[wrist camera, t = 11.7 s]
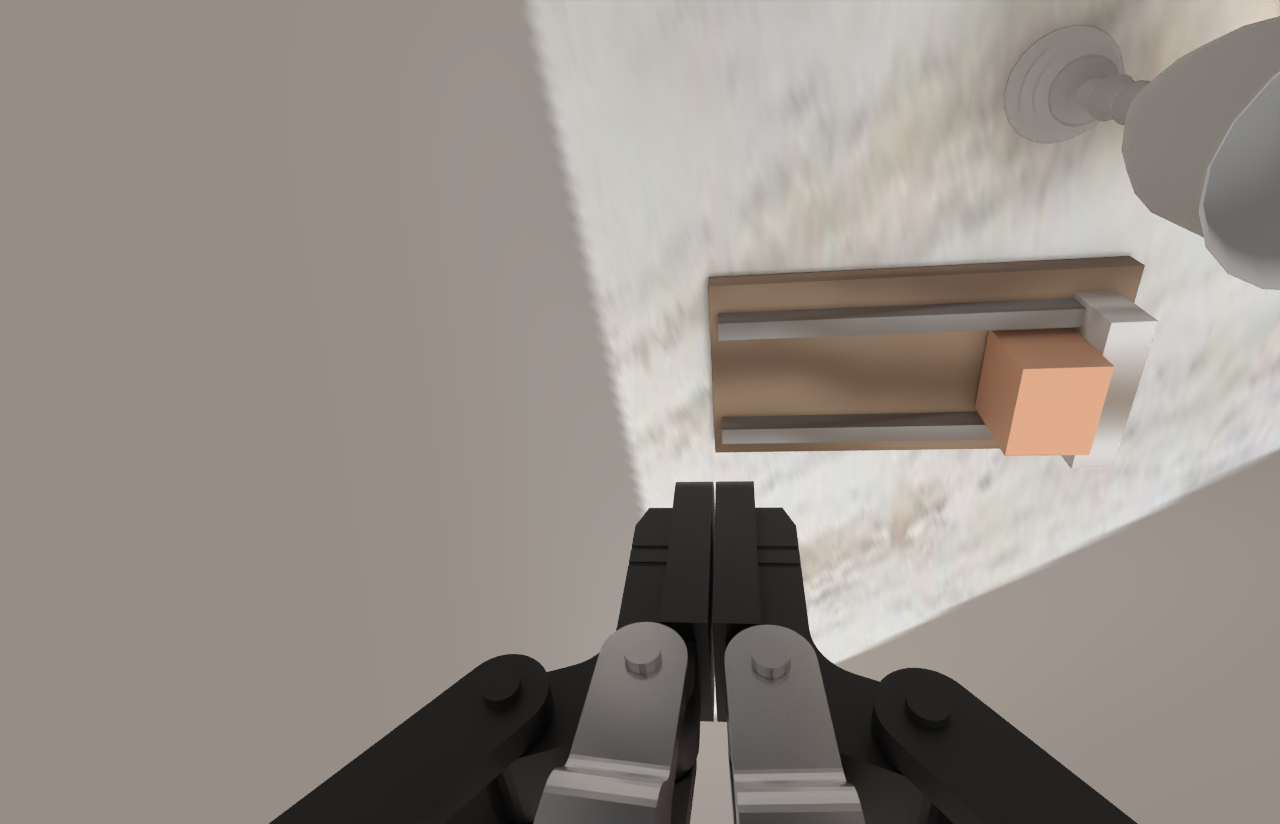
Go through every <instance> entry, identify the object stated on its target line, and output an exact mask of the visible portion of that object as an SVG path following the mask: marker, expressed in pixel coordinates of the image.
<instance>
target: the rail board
mask: <svg viewBox="0 0 1280 824" xmlns="http://www.w3.org/2000/svg"><path fill="white" fill-rule="evenodd" d="M1144 266H1145V265H1143V264H1142V263H1140V262H1138V261H1137V260H1135V259H1133V258H1132V257H1130V256H1124V257H1104V258H1085V259H1065V260H1045V261H1025V262H1006V263H986V264H966V265H947V266H927V267H907V268H887V269H868V270H848V271H828V272H809V273H789V274H769V275H749V276H730V277H710V278H709V285H708V289H709V312H710V335H711V358H712V381H713V404H714V427H715V450H716V452H773V451H846V450H919V449H992V448H1000V447H999V446H998V444H997V442H996V441H995V439H994V438H993V436H992V434H991V433H990V431H989V429H988V428H987V426H986V425H985V423H984V421H983V420H982V418H981V416H980V415H979V413H978V412H977V410H976V408H975V404H976V398H977V393H978V387H979V381H980V376H981V370H982V365H983V359H984V353H985V348H986V342H987V336H988V331H990V330H1017V329H1044V328H1071V327H1073V328H1074V329H1075V330H1076V331H1077V332H1078V333H1079V334H1080V335H1081V336H1082V337H1083V338H1084V339H1086V340H1087V341H1088V342H1089V343H1090V344H1091V345H1092V346H1093V347H1094V348H1095V349H1096V350H1097V351H1099V352H1100V353H1101V354H1102V355H1103V356H1104V357H1105V358H1106V359H1107V360H1108V361H1109V362H1110V363H1112V364H1113V365H1114V366H1115V367H1114V371H1113V374H1112V378H1111V381H1110V385H1109V388H1108V392H1107V395H1106V399H1105V402H1104V406H1103V409H1102V413H1101V416H1100V420H1099V423H1098V426H1097V430H1096V433H1095V437H1094V440H1093V444H1092V447H1091V451H1090V454H1089V455H1062V457H1063V458H1064V459H1065V461H1066V462H1067V463H1068V465H1069V466H1070V468H1071V469H1109V468H1113V465H1114V462H1115V458H1116V455H1117V452H1118V449H1119V446H1120V442H1121V439H1122V436H1123V433H1124V429H1125V426H1126V423H1127V420H1128V417H1129V413H1130V410H1131V407H1132V404H1133V401H1134V397H1135V394H1136V391H1137V388H1138V384H1139V381H1140V378H1141V375H1142V372H1143V368H1144V365H1145V362H1146V359H1147V356H1148V352H1149V349H1150V346H1151V343H1152V339H1153V336H1154V333H1155V330H1156V327H1157V323H1158V320H1156V319H1155V318H1153V317H1152V316H1151V315H1149V314H1148V313H1146V312H1145V311H1144V310H1142V309H1141V308H1140V307H1138V306H1137V305H1135V304H1134V301H1135V297H1136V294H1137V290H1138V287H1139V283H1140V280H1141V276H1142V273H1143V269H1144Z"/></svg>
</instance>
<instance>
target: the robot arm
mask: <svg viewBox="0 0 1280 824" xmlns="http://www.w3.org/2000/svg"><path fill="white" fill-rule="evenodd" d="M714 677H715V685H716V703H717V720H718V721H719V722H720V721H721V722H727V729H728V750H729V773H730V785H731V799H732V812H733V824H1137V823H1136V822H1135V821H1133V820H1132V819H1131V818H1130V817H1128V816H1127V815H1125V813H1123V812H1122V811H1120V810H1119V809H1118V808H1117V807H1116V806H1114V805H1113V804H1112V803H1110V802H1109V801H1108V800H1107V799H1105V798H1104V797H1103V796H1102V795H1100V794H1099V793H1098V792H1096V791H1095V790H1094V789H1093V788H1091V787H1090V786H1089V785H1088V784H1086V783H1085V782H1084V781H1082V780H1081V779H1080V778H1079V777H1077V776H1076V775H1075V774H1074V773H1072V772H1071V771H1070V770H1068V769H1067V768H1066V767H1065V766H1063V765H1062V764H1061V763H1060V762H1058V761H1057V760H1056V759H1054V758H1053V757H1052V756H1050V755H1049V754H1048V753H1047V752H1046V751H1044V750H1043V749H1042V748H1040V747H1039V746H1038V745H1037V744H1035V743H1034V742H1033V741H1032V740H1030V739H1029V738H1028V737H1026V736H1025V735H1024V734H1022V733H1021V732H1020V731H1019V730H1017V729H1016V728H1015V727H1014V726H1012V725H1011V724H1010V723H1009V722H1007V721H1006V720H1005V719H1003V718H1002V717H1001V716H1000V715H998V714H997V713H996V712H995V711H993V710H992V709H991V708H989V707H988V706H987V705H985V704H984V703H983V702H981V700H979V699H978V698H977V697H975V696H974V695H973V694H972V693H970V692H969V691H968V690H966V689H965V688H964V687H963V686H961V685H960V684H958V683H957V682H956V681H954V680H953V679H951V678H949V677H947V676H945V675H943V674H940V673H938V672H936V671H932V670H928V669H921V668H906V669H901V670H897V671H895V672H892V673H890V674H889V675H887V676H886V677H885V678H883V679H882V680H881V682H879V681H875V680H872V679H869V678H866V677H863V676H859V675H856V674H853V673H850V672H848V671H845V670H843V669H841V668H839V667H837V666H836V665H834V664H833V663H831V662H830V661H829V660H828V659H826V658H825V657H824V656H823V655H822V654H821V653H820V651H819V650H818V649H817V648H816V646H815V644H814V643H813V641H812V638H811V636H810V631H809V625H808V617H807V609H806V601H805V594H804V586H803V578H802V570H801V563H800V555H799V550H798V539H797V531H796V525H795V524H794V523H793V521H792V520H791V519H790V517H789V516H788V515H787V513H786V512H785V511H784V510H783V508H755V500H754V482H753V481H751V482H716V503H715V502H714V484H713V482H676V486H675V494H674V503H673V508H649V509H648V511H647V512H646V513H645V515H644V516H643V517H642V518H641V520H640V521H639V522H638V523H637V525H636V527H635V532H634V538H633V544H632V550H631V554H630V560H629V566H628V571H627V576H626V582H625V587H624V593H623V598H622V604H621V609H620V615H619V620H618V626H617V629H616V632H614V633H613V634H612V635H611V636H610V637H609V638H608V639H607V640H606V641H605V643H604V644H603V646H602V648H601V651H600V653H598V654H597V655H596V656H594V657H593V658H591V659H589V660H587V661H585V662H582V663H580V664H576V665H573V666H570V667H566V668H561V669H558V670H554V671H550V672H546V671H545V669H544V668H543V666H542V665H541V664H540V663H539V662H537V661H536V660H535V659H533V658H530V657H528V656H525V655H519V654H508V655H502V656H498V657H495V658H492V659H490V660H488V661H486V662H484V663H482V664H481V665H479V666H478V667H476V668H475V669H474V670H473V671H471V672H470V673H468V674H467V675H466V676H464V677H463V678H462V679H460V680H459V681H458V682H456V683H455V684H454V685H452V686H451V687H450V688H448V689H447V690H446V691H444V692H443V693H442V694H440V695H439V696H438V697H436V698H435V699H434V700H432V701H431V702H430V703H429V704H427V705H426V706H425V707H423V708H422V709H421V710H419V711H418V712H416V713H415V714H414V715H412V716H411V717H410V718H409V719H407V720H406V721H405V722H403V723H402V724H401V725H399V726H398V727H397V728H395V729H394V730H393V731H391V732H390V733H389V734H387V735H386V736H385V737H383V738H382V739H381V740H379V741H378V742H377V743H375V744H374V745H373V746H371V747H370V748H369V749H367V750H366V751H365V752H363V753H362V754H361V755H359V756H358V757H357V758H355V759H354V760H353V761H351V762H350V763H349V764H347V765H346V766H345V767H343V768H342V769H341V770H340V771H338V772H337V773H336V774H334V775H333V776H332V777H330V778H329V779H328V780H326V781H325V782H324V783H322V784H321V785H320V786H318V787H317V788H316V789H315V790H313V791H312V792H310V793H309V794H308V795H306V796H305V797H304V798H302V799H301V800H300V801H298V802H297V803H296V804H294V805H293V806H292V807H290V808H289V809H288V810H287V811H285V812H284V813H283V814H281V815H280V816H278V817H277V818H276V819H275V820H273V821H272V822H270V823H269V824H690V818H691V810H692V801H693V794H694V785H695V778H696V770H697V769H696V768H697V760H696V758H697V755H698V751H699V737H700V721H712V722H713V720H714Z"/></svg>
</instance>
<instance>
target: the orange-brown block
mask: <svg viewBox="0 0 1280 824" xmlns="http://www.w3.org/2000/svg"><path fill="white" fill-rule="evenodd" d="M1114 367H1115V366H1114V365H1113V364H1112V363H1110V362H1109V361H1108V360H1107V359H1106V358H1105V357H1104V356H1103V355H1102V354H1101V353H1100V352H1099V351H1097V350H1096V349H1095V348H1094V347H1093V346H1092V345H1091V344H1090V343H1089V342H1088V341H1087V340H1086V339H1084V338H1083V337H1082V336H1081V335H1080V334H1079V333H1078V332H1077V331H1076V330H1075V329H1074V328H1073V327H1071V328H1044V329H1017V330H990V331H988V336H987V342H986V348H985V353H984V359H983V365H982V370H981V376H980V381H979V387H978V393H977V398H976V404H975V408H976V410H977V412H978V413H979V415H980V416H981V418H982V420H983V421H984V423H985V425H986V426H987V428H988V429H989V431H990V433H991V434H992V436H993V438H994V439H995V441H996V442H997V444H998V446H999V447H1000V449H1001V450H1002V452H1003V454H1004V455H1005V456H1048V455H1089V454H1090V451H1091V447H1092V444H1093V440H1094V437H1095V433H1096V430H1097V426H1098V423H1099V420H1100V416H1101V413H1102V409H1103V406H1104V402H1105V399H1106V395H1107V392H1108V388H1109V385H1110V381H1111V378H1112V374H1113V371H1114Z"/></svg>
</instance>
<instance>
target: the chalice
mask: <svg viewBox="0 0 1280 824" xmlns="http://www.w3.org/2000/svg"><path fill="white" fill-rule="evenodd" d="M1005 111H1006V114H1007V117H1008V120H1009V123H1010V125H1011V126H1012V127H1013V128H1014V129H1015V131H1016V132H1017V133H1018V134H1019V135H1020V136H1022V137H1024V138H1026V139H1028V140H1030V141H1032V142H1039V143H1055V142H1059V141H1064V140H1068V139H1070V138H1072V137H1074V136H1076V135H1078V134H1080V133H1082V132H1084V131H1086V130H1087V129H1089V128H1091V127H1092V126H1094V125H1096V124H1097V123H1098V122H1100V121H1108V120H1112V119H1114V120H1115V122H1116V123H1118V124H1121V125H1125V126H1124V135H1123V143H1122V153H1123V157H1124V161H1125V165H1126V169H1127V172H1128V175H1129V178H1130V181H1131V184H1132V186H1133V189H1134V192H1135V194H1136V195H1137V196H1138V197H1139V199H1140V200H1141V201H1142V202H1143V203H1144V204H1145V206H1146V207H1147V208H1148V209H1149V210H1150V211H1151V212H1152V213H1154V214H1156V215H1158V216H1160V217H1162V218H1164V219H1166V220H1168V221H1171V222H1173V223H1175V224H1177V225H1179V226H1181V227H1183V228H1185V229H1187V230H1189V231H1191V232H1194V233H1196V234H1198V235H1200V236H1202V237H1204V241H1205V245H1206V248H1207V249H1208V251H1209V252H1210V253H1211V254H1212V255H1213V257H1214V258H1215V259H1216V260H1217V261H1218V262H1219V264H1220V265H1221V266H1222V267H1223V268H1224V270H1225V271H1226V272H1227V273H1228V274H1230V275H1232V276H1234V277H1237V278H1239V279H1241V280H1243V281H1246V282H1248V283H1250V284H1253V285H1255V286H1257V287H1260V288H1262V289H1274V290H1280V16H1279V17H1275V18H1272V19H1268V20H1264V21H1260V22H1256V23H1253V24H1249V25H1245V26H1243V27H1240V28H1238V29H1236V30H1234V31H1232V32H1230V33H1228V34H1226V35H1224V36H1222V37H1220V38H1218V39H1215V40H1213V41H1211V42H1209V43H1207V44H1205V45H1203V46H1201V47H1200V48H1198V49H1196V50H1194V51H1192V52H1190V53H1188V54H1186V55H1184V56H1182V57H1181V58H1179V59H1178V60H1176V61H1175V62H1174V63H1173V64H1172V65H1170V66H1169V67H1168V68H1167V69H1166V70H1164V71H1163V72H1162V73H1161V74H1159V75H1158V76H1157V77H1156V78H1155V79H1153V80H1152V81H1151V82H1150V81H1144V80H1141V81H1137V82H1134V80H1133V79H1132V78H1131V77H1129V76H1127V75H1125V72H1124V68H1123V63H1122V59H1121V55H1120V51H1119V47H1118V46H1117V45H1116V43H1115V42H1114V41H1113V40H1112V38H1111V37H1110V36H1109V34H1107V33H1105V32H1103V31H1101V30H1099V29H1097V28H1095V27H1092V26H1081V25H1074V26H1070V27H1066V28H1062V29H1057V30H1055V31H1053V32H1052V33H1050V34H1048V35H1046V36H1044V37H1043V38H1041V39H1039V40H1038V41H1037V42H1035V43H1034V44H1033V45H1032V46H1031V47H1030V48H1029V49H1028V50H1027V51H1026V52H1025V53H1024V54H1023V55H1022V56H1021V58H1020V59H1019V61H1018V62H1017V64H1016V66H1015V67H1014V69H1013V70H1012V72H1011V74H1010V77H1009V80H1008V83H1007V86H1006V89H1005Z"/></svg>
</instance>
